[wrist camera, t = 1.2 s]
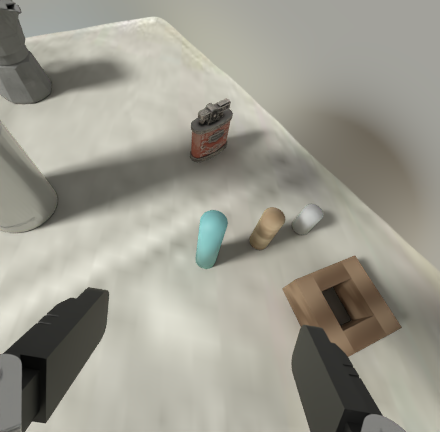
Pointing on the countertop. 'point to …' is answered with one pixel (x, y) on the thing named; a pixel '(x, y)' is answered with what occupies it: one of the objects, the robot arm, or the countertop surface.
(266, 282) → the countertop surface
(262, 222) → the beech pin
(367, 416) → the robot arm
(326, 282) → the walnut block
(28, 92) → the coffeepot
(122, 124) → the countertop surface
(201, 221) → the teal pin
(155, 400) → the countertop surface
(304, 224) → the grey pin
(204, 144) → the lighter
